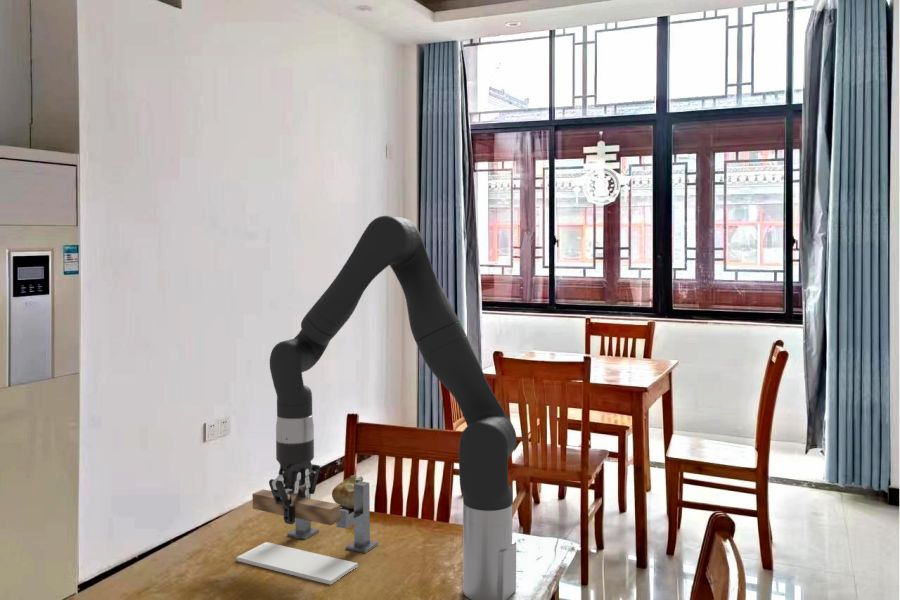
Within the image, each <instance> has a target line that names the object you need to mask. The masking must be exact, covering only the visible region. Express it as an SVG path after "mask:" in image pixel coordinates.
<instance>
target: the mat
mask: <svg viewBox="0 0 900 600" xmlns="http://www.w3.org/2000/svg"><path fill="white" fill-rule="evenodd" d="M236 562H240V563H244V564H249V565H252V566H256V567H260V568H264V569H267V570H271V571H276V572H279V573H283V574H287V575H291V576H296V577H299V578H302V579H306V580H311V581H313V582H318V583H322V584H323V583H324V584H326V585H330V586H331V584H332V585H334V584H335V583H336V582H337V580H338V581H339V580H341V579H342V578H343V577H342V576H344V575H345V574H347V573H348V572H350V571H351V572H352V570H353V569H354V570H356V569H357V568H359V567H358V566H359V565H358V562H355V561H350V560H345V559H341V558H337V557H333V556H328V555H324V554H320V553H315V552H311V551H306V550H303V549H298V548H294V547H290V546H284V545H281V544H276V543H273V542H268V541H265V542H264V543H262V544H259V545H258V546H255V547H253V548H252V549H250V550H248V551H246V552H244V553H241V554H240V555H238V556H236ZM355 568H356V569H355ZM354 570H353V571H354ZM351 572H350V573H351ZM348 574H349V573H348ZM348 574H347V575H348ZM345 576H346V575H345ZM345 576H344V577H345ZM341 577H342V578H341ZM340 578H341V579H340ZM334 582H335V583H334Z"/></svg>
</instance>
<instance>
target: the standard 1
mask: <svg viewBox="0 0 900 600" xmlns="http://www.w3.org/2000/svg"><path fill="white" fill-rule="evenodd" d="M310 487H311V486H310ZM310 487H309V488H310ZM301 490H302V489H301ZM296 496H297V495H296ZM309 498H310V499H311V496H310V497H309ZM276 515H277V516H280V515H279V514H276ZM281 516H283V517H284V515H281ZM319 533H320V529H319V528H313V527H312V521H308V520H303V519H298V518H295V529H293V530H291V531H288V532H287V533H286V534H287V536H288V537H291V538H295V539H301V540H308V539H309V538H312V537H313V536H314V535H316V534H319Z"/></svg>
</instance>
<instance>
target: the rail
mask: <svg viewBox="0 0 900 600" xmlns="http://www.w3.org/2000/svg"><path fill="white" fill-rule="evenodd" d="M251 497H252V509H253V510H257V511H261V512H266V513H271V514H274V515H275V514H276V515H277V514H279V515H278V516H282V515H284V507H283V505H278V504H276V503H275V500H274V497H273V494H272V491H271V490H267V489H261V490H258V491H255V492H253V493H252V496H251ZM280 498H281V497H280ZM288 500H290V494H288ZM294 506H295V519H296V518H298V519H303V520H308V521H311V523H312V522H313V523H317V524H321V525H322V524H323V525H326V526H332V525H335V524H336V522H338V521H340V509H341V508H340V504H337V503H336V502H329V501H324V500H320V499H319V500H318V499H315V498H311V497H310V498H305V497H299V496H296V497H295V505H294Z"/></svg>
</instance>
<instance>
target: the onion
mask: <svg viewBox="0 0 900 600" xmlns="http://www.w3.org/2000/svg"><path fill="white" fill-rule="evenodd" d="M359 481H362V482H364V478H363V476H362V475H361V476H359V477H358V476H357V475H355V474H354V475H350V476H349V477H346V479H344V480H343V481H341V482H340V483H338V484H337V485H335V487H334V488H333V489H332V492H331V498H332V499H333V501H334V503H335V504H340V509H345V510H350V509H351V510H352V509H354V484H355V483H357V482H359Z"/></svg>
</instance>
